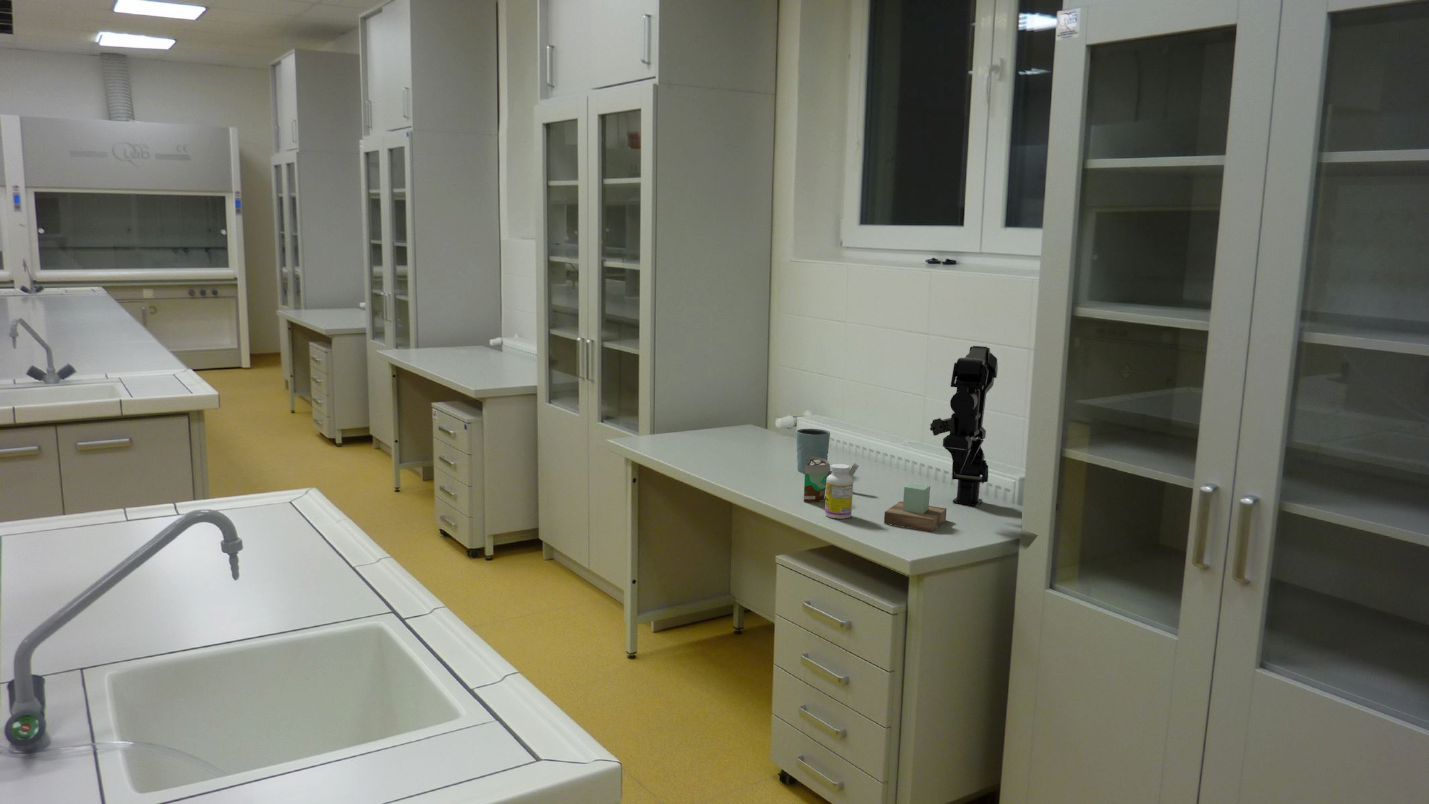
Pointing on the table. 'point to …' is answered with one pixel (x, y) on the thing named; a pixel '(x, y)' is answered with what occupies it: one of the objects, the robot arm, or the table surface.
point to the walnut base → (915, 517)
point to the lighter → (853, 469)
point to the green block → (916, 498)
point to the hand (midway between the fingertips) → (962, 470)
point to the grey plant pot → (811, 446)
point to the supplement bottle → (839, 492)
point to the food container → (815, 479)
